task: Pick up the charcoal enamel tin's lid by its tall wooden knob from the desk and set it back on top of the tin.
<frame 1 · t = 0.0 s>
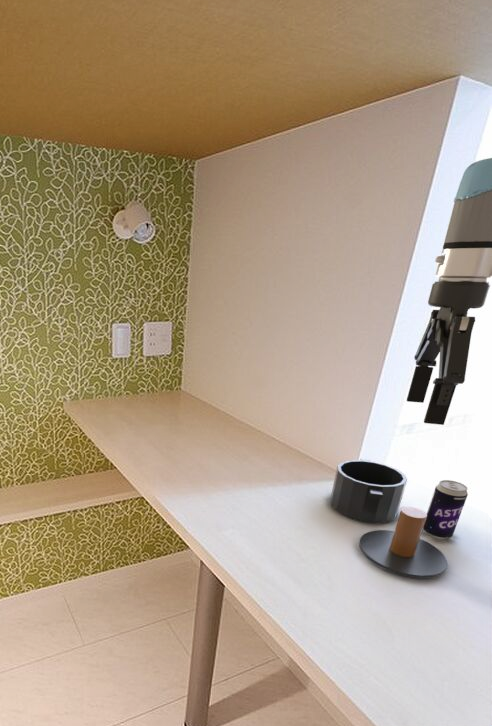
hand: (423, 411, 77), 30 cm above the table, tool pointing down, fingers open, 13 cm apart
beverage can: (436, 534, 95), on the table
tin lid: (401, 553, 88), point 1 cm above the table
tin: (362, 507, 106), on the table
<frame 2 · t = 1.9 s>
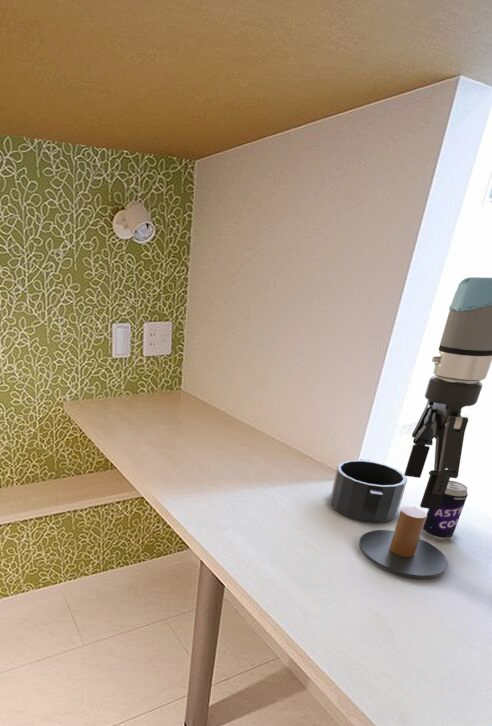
hand: (420, 491, 82), 15 cm above the table, tool pointing down, fingers open, 13 cm apart
nothing on the table moved.
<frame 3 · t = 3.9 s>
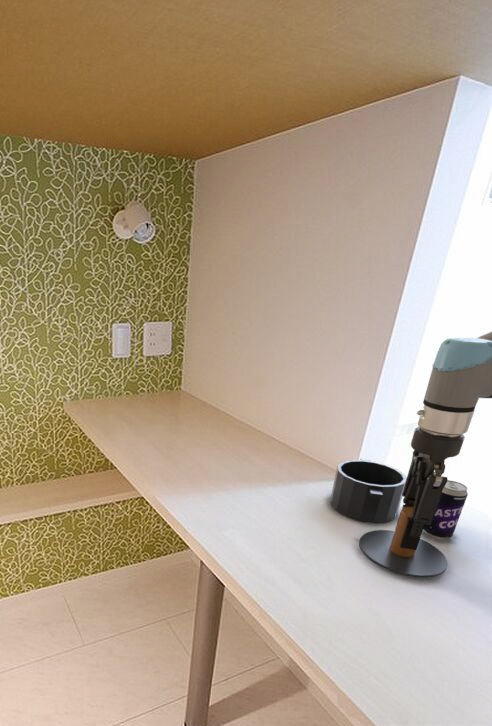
hand: (405, 540, 86), 4 cm above the table, tool pointing down, fingers closed on tin lid, 4 cm apart
tin lid: (401, 553, 88), point 1 cm above the table, touching gripper
everything else where it was.
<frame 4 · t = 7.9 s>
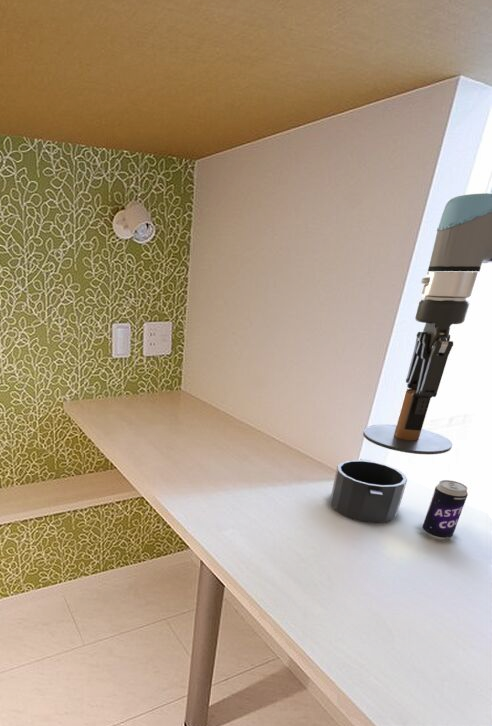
hand: (409, 425, 86), 25 cm above the table, tool pointing down, fingers closed on tin lid, 4 cm apart
tin lid: (405, 439, 88), point 22 cm above the table, touching gripper
everything else where it was.
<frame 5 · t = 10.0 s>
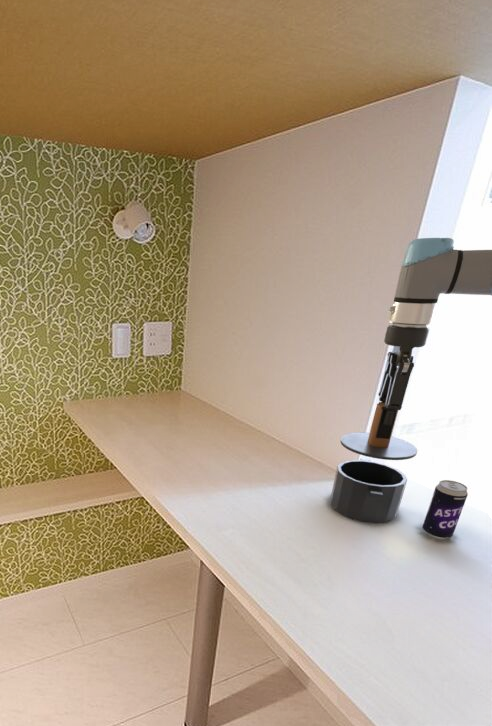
hand: (380, 433, 98), 19 cm above the table, tool pointing down, fingers closed on tin lid, 4 cm apart
tin lid: (377, 446, 99), point 16 cm above the table, touching gripper
everything else where it was.
when the fingers open (13 cm above the table, at t = 11.8 s): tin lid stays where it is, resting on tin.
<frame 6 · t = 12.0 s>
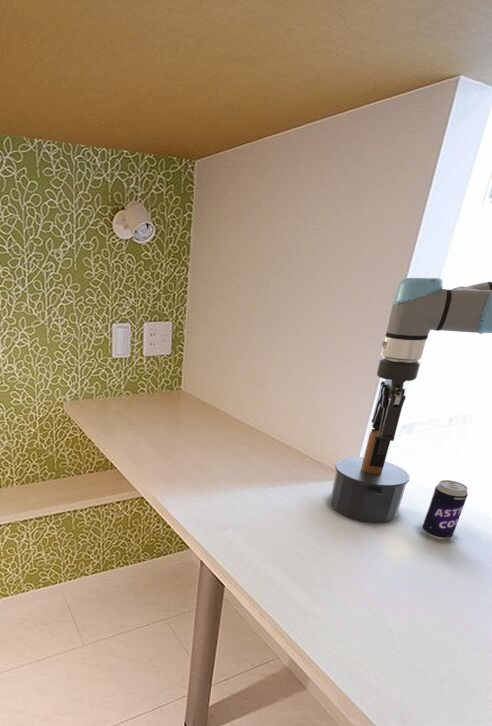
hand: (374, 460, 100), 13 cm above the table, tool pointing down, fingers open, 6 cm apart
tin lid: (370, 472, 102), point 9 cm above the table, touching tin
everything else where it was.
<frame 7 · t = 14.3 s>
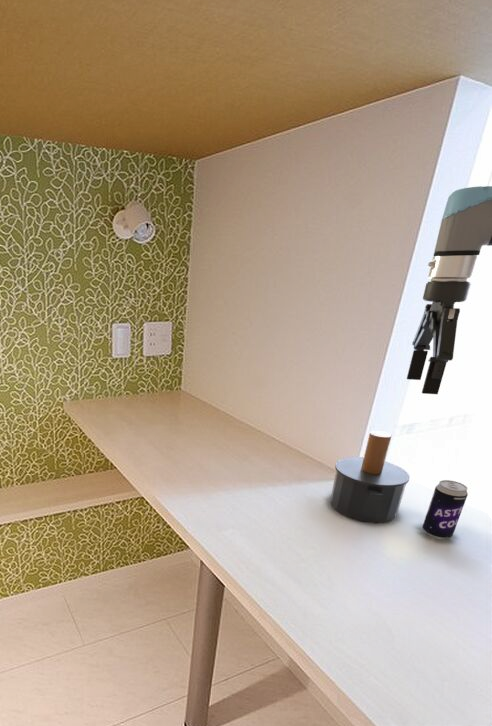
hand: (421, 386, 95), 29 cm above the table, tool pointing down, fingers open, 13 cm apart
nothing on the table moved.
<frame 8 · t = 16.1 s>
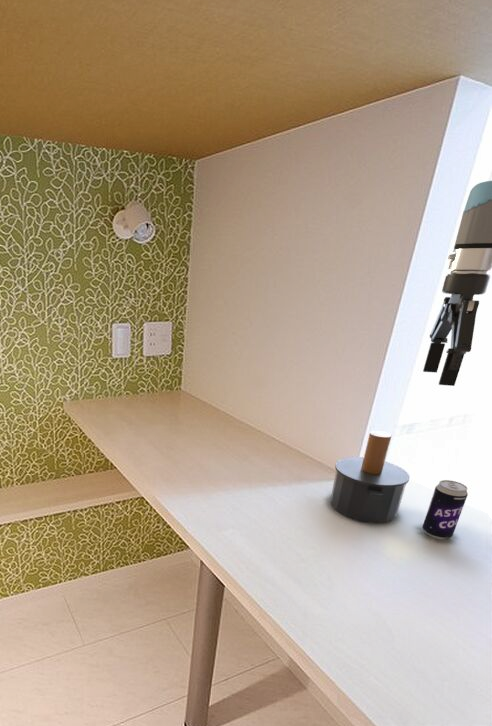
hand: (437, 378, 97), 31 cm above the table, tool pointing down, fingers open, 13 cm apart
nothing on the table moved.
at the end: tin lid 0.1 cm off-centre on the tin, point 9.5 cm above the tin's base; tin lid tilted 0° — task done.
